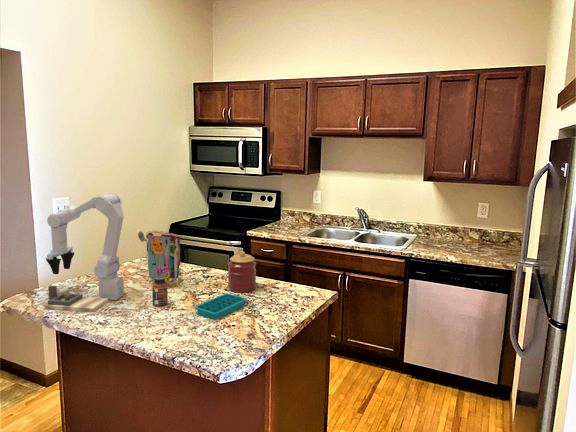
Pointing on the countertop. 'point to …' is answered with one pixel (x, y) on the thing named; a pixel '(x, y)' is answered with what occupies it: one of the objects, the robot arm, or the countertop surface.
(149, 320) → the countertop surface
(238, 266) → the canister
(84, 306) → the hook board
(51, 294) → the dark grey frame stand
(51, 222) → the robot arm
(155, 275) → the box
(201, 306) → the ice cube tray
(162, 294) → the supplement bottle
